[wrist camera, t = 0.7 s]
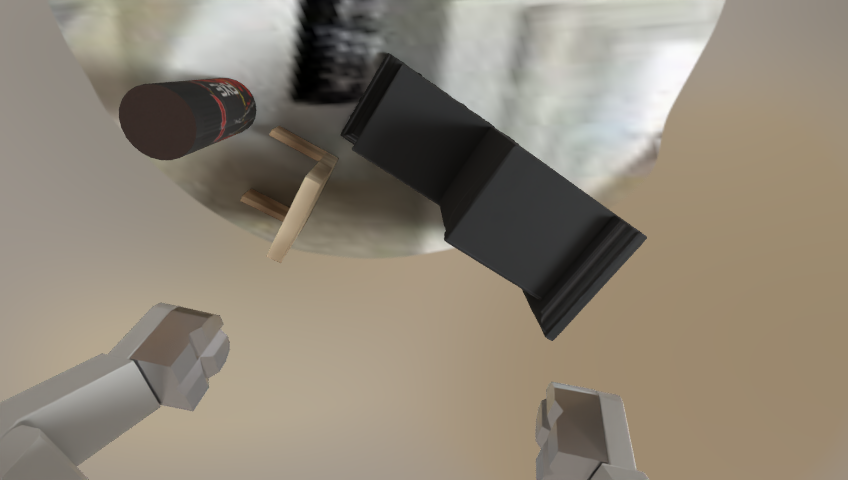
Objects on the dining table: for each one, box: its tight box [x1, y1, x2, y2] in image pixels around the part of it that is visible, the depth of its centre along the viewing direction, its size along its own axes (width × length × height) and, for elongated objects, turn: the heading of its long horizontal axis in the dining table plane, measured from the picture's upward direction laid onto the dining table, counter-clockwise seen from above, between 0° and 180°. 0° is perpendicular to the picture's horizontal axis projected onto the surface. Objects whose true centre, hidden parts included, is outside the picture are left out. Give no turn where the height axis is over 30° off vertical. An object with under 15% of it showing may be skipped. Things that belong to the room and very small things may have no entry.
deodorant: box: [119, 78, 256, 160], centre depth 41 cm, size 6×6×15 cm
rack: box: [240, 126, 339, 263], centre depth 46 cm, size 8×9×12 cm
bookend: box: [341, 53, 647, 341], centre depth 40 cm, size 23×11×24 cm, turn 56°
